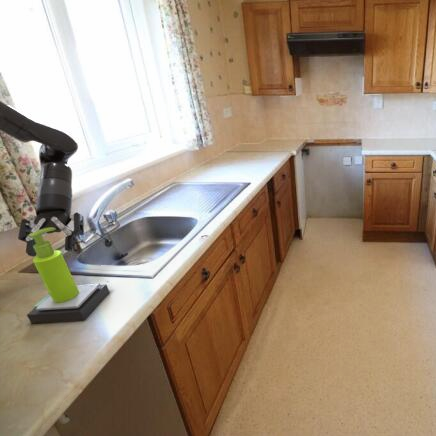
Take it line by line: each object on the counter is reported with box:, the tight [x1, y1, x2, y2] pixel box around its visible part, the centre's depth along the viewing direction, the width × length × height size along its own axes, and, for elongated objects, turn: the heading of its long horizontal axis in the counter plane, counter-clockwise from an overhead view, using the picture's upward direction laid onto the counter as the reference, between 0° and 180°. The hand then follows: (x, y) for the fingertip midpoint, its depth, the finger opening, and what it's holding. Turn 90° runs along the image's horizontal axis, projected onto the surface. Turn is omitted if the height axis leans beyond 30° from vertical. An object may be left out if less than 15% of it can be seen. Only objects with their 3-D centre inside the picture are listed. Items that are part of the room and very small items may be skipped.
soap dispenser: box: [28, 227, 79, 303], centre depth 86 cm, size 6×7×20 cm
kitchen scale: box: [26, 283, 110, 324], centre depth 91 cm, size 14×12×4 cm
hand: (50, 253), depth 86 cm, fingers open, 8 cm apart
